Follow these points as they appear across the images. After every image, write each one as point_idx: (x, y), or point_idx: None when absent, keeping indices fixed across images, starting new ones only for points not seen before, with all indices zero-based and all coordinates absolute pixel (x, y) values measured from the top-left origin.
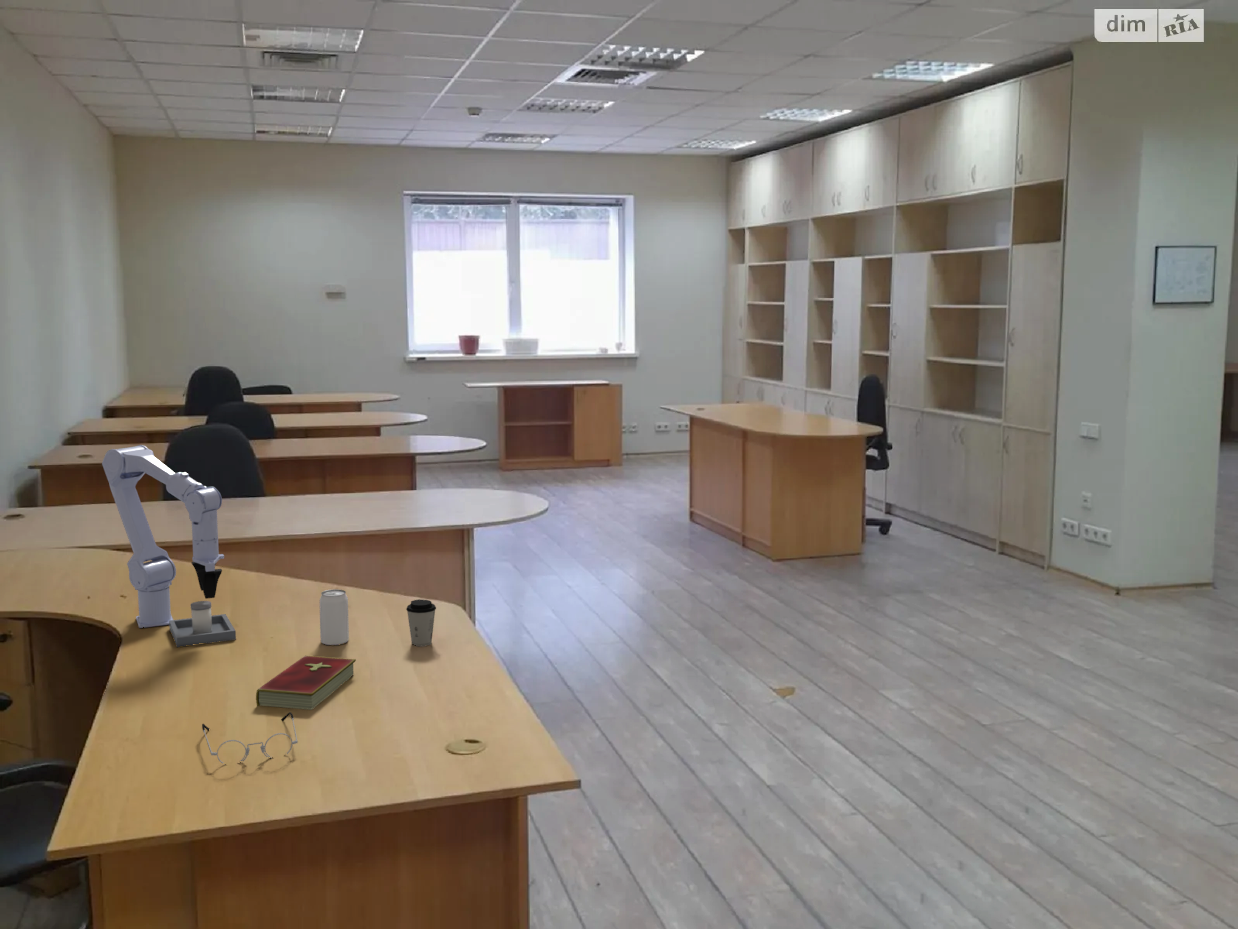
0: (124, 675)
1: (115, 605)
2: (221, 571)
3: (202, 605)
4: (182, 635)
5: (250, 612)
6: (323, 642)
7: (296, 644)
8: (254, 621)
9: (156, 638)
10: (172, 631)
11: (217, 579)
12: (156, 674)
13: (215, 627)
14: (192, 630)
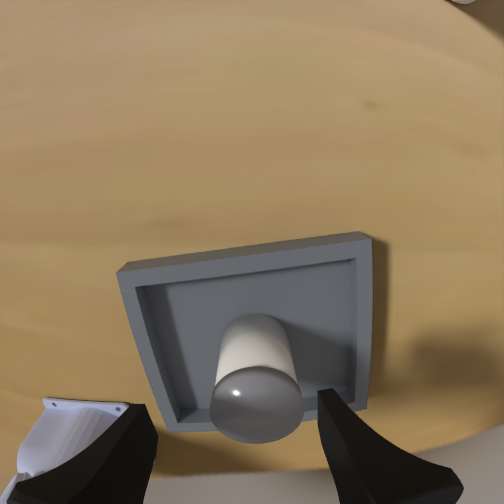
0: (467, 433)
1: (6, 452)
2: (455, 479)
3: (297, 408)
4: None
5: (33, 177)
6: (469, 2)
7: (453, 58)
8: (137, 156)
9: None
10: None
11: (405, 454)
12: (496, 389)
13: (210, 302)
14: None
